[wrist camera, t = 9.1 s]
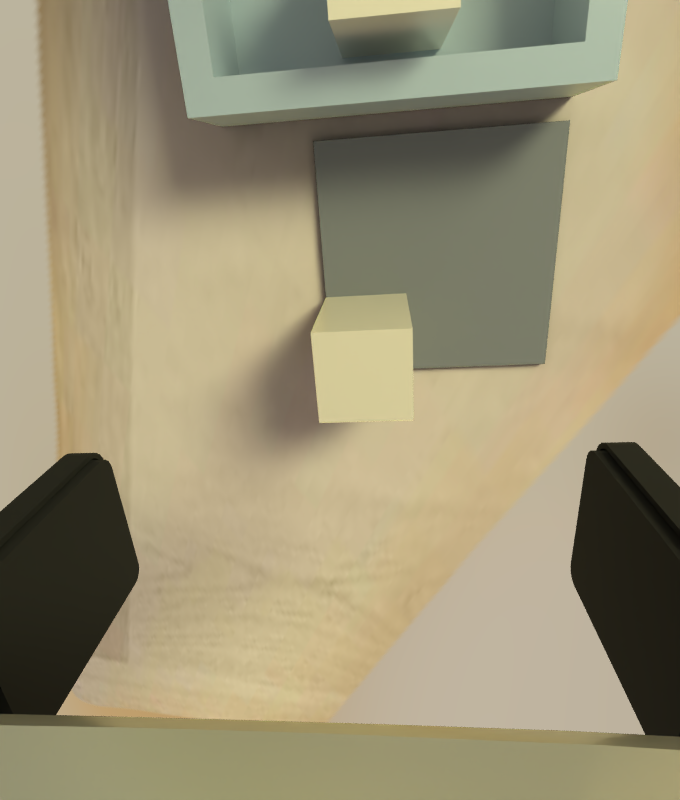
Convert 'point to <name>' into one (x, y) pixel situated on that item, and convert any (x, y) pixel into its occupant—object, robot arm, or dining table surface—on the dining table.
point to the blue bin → (386, 59)
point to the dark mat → (449, 234)
